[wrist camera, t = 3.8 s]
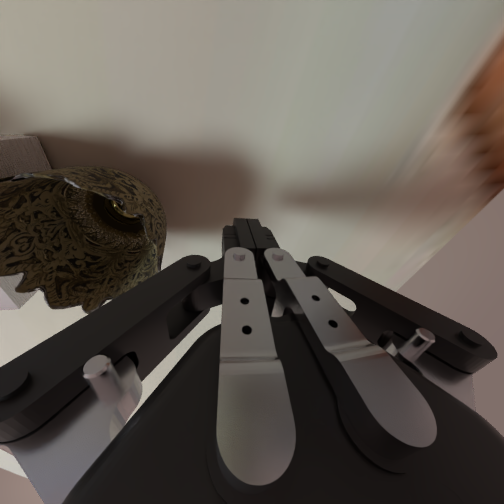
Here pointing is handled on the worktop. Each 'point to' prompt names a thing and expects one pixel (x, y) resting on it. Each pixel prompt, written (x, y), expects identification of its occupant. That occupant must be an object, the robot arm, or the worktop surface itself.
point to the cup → (79, 234)
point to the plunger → (11, 164)
